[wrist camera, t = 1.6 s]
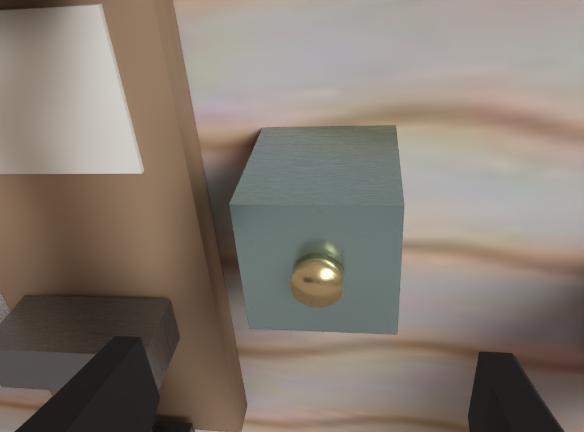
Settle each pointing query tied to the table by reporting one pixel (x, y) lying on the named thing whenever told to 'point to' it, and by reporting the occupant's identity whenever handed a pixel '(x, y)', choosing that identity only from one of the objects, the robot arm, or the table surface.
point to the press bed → (114, 184)
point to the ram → (82, 339)
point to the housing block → (321, 229)
